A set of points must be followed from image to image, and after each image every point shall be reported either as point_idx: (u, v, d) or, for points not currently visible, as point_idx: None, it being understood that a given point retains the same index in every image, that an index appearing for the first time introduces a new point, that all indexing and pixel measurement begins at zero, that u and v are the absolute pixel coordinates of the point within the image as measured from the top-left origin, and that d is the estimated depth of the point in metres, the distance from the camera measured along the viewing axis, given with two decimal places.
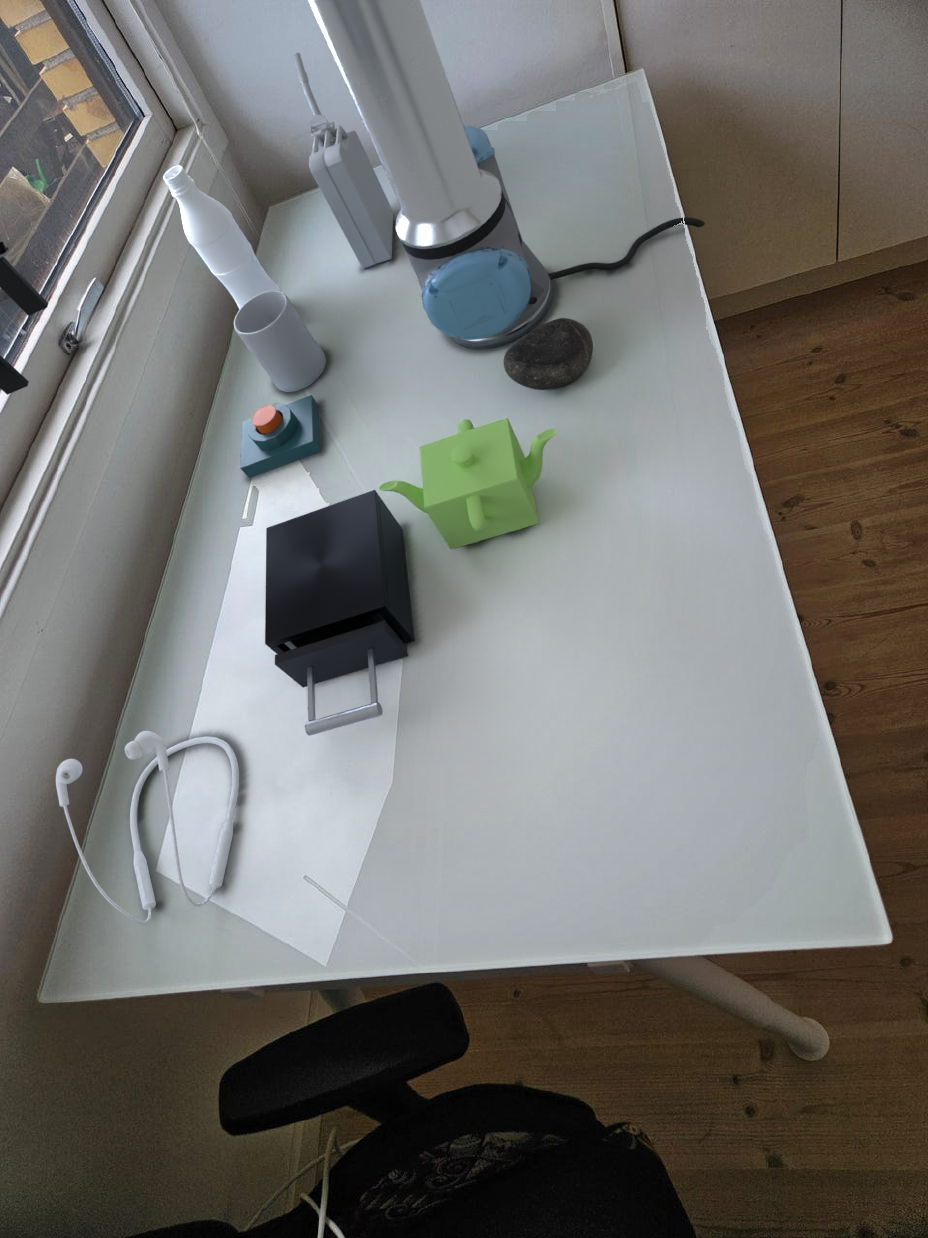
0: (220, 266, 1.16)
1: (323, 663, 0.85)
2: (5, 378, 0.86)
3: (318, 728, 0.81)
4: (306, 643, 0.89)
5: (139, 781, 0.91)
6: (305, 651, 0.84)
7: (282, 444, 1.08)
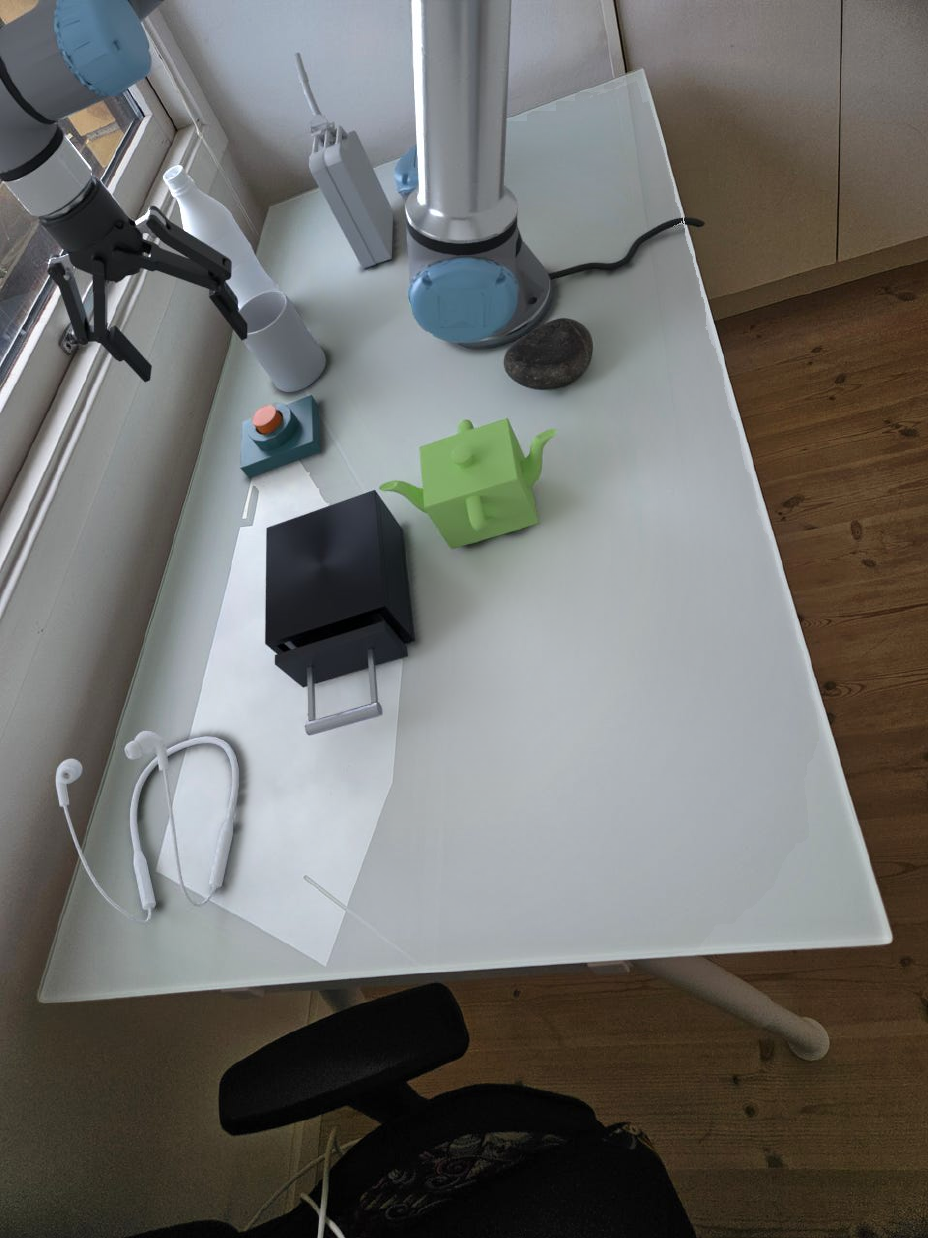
0: None
1: (323, 663, 0.85)
2: None
3: (318, 728, 0.81)
4: (306, 643, 0.89)
5: (139, 781, 0.91)
6: (305, 651, 0.84)
7: (282, 444, 1.08)
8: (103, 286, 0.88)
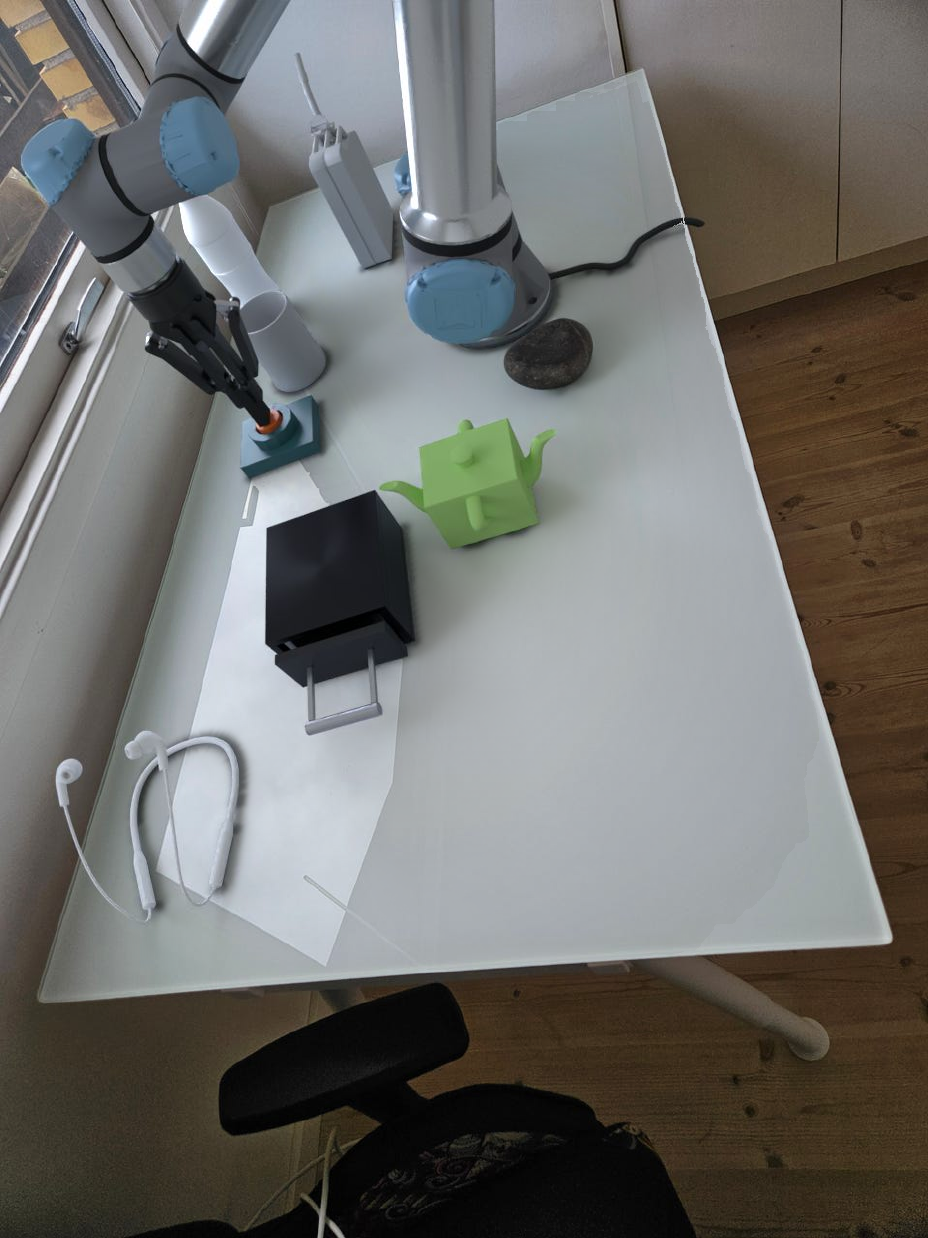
0: (220, 266, 1.16)
1: (323, 663, 0.85)
2: None
3: (318, 728, 0.81)
4: (306, 643, 0.89)
5: (139, 781, 0.91)
6: (305, 651, 0.84)
7: (282, 444, 1.08)
8: (193, 346, 0.96)
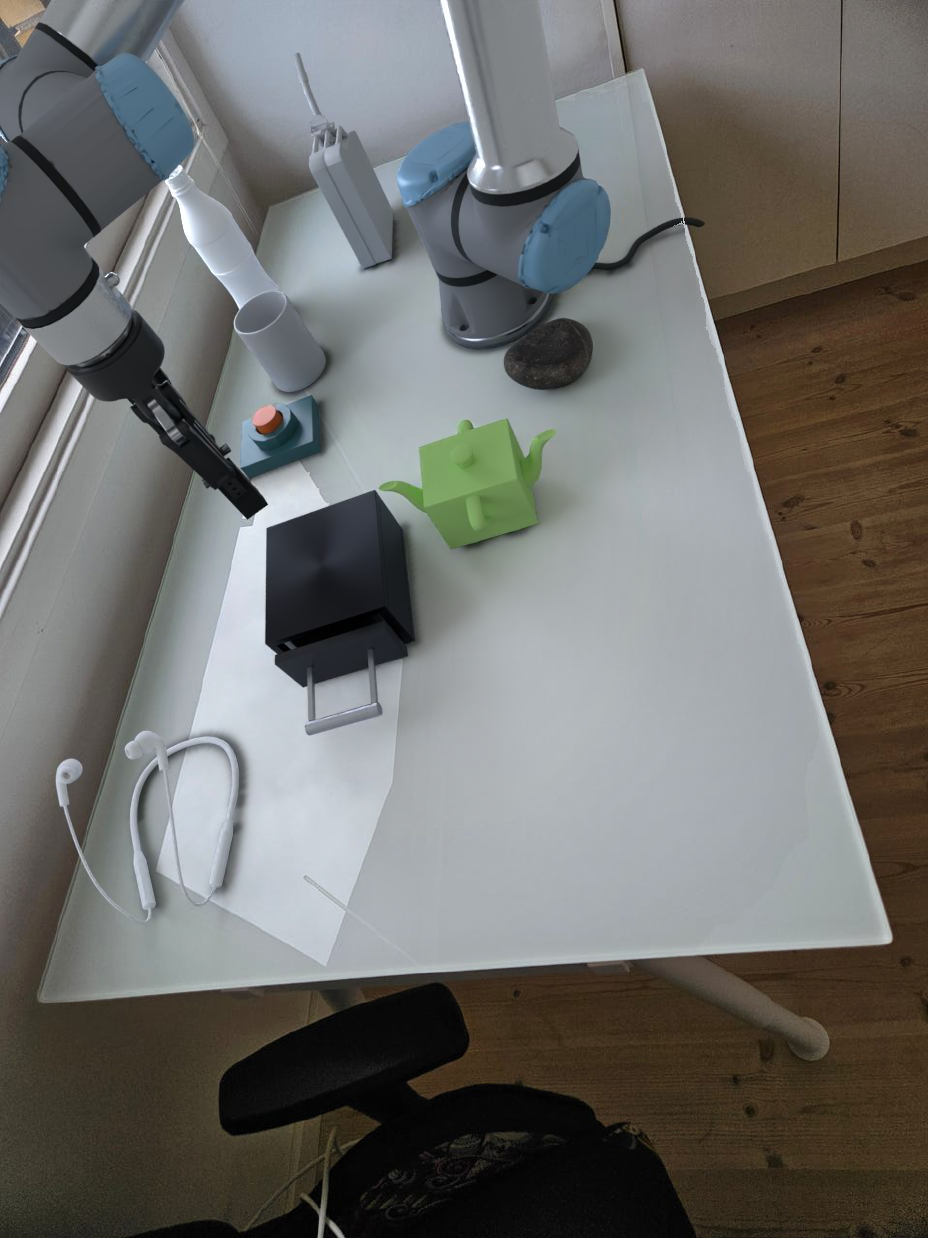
0: (220, 266, 1.16)
1: (323, 663, 0.85)
2: None
3: (318, 728, 0.81)
4: (306, 643, 0.89)
5: (139, 781, 0.91)
6: (305, 651, 0.84)
7: (282, 444, 1.08)
8: None
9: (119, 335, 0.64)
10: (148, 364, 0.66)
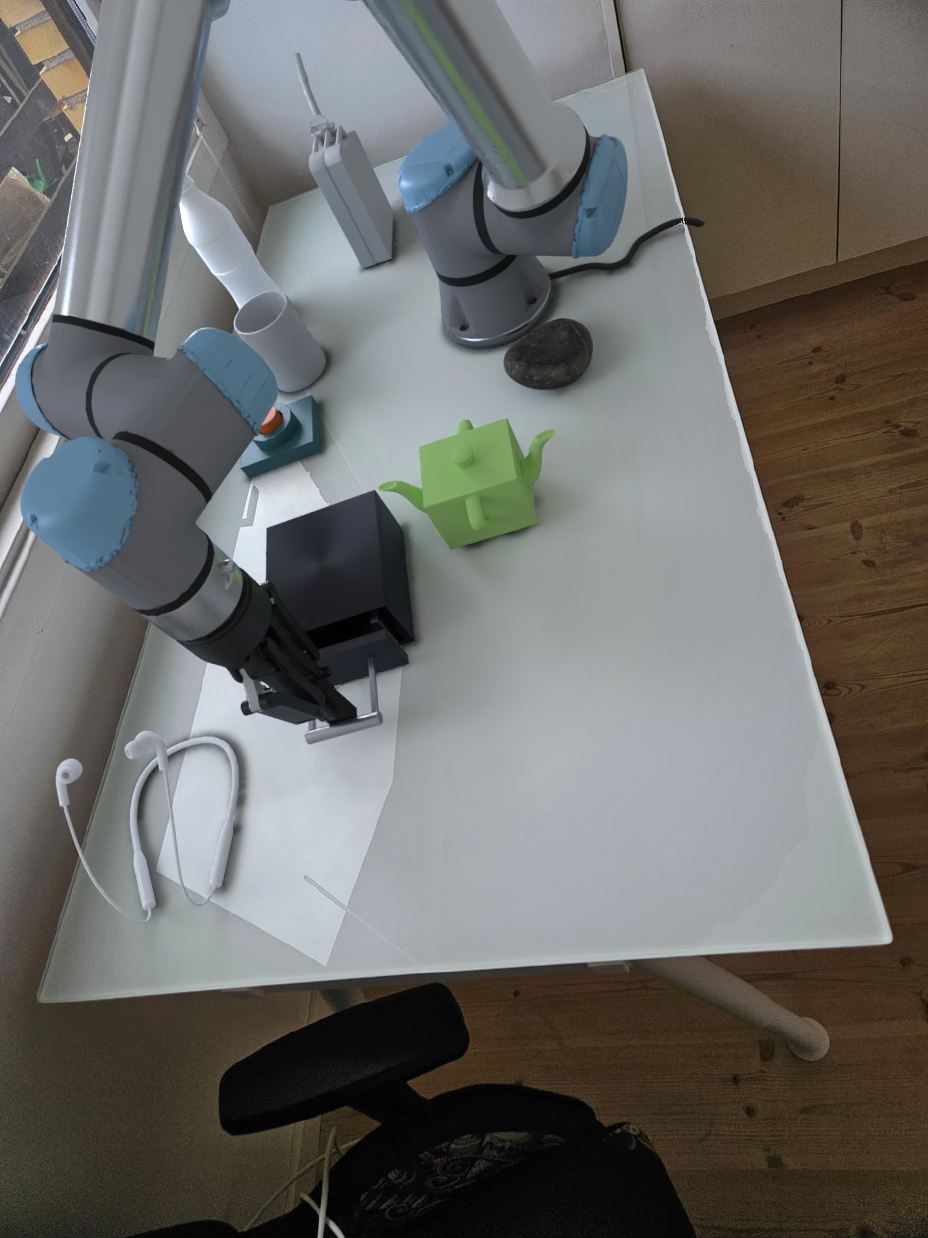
0: (220, 266, 1.16)
1: None
2: None
3: (318, 737, 0.80)
4: None
5: (139, 781, 0.91)
6: None
7: (282, 444, 1.08)
8: None
9: (218, 626, 0.60)
10: (245, 645, 0.63)
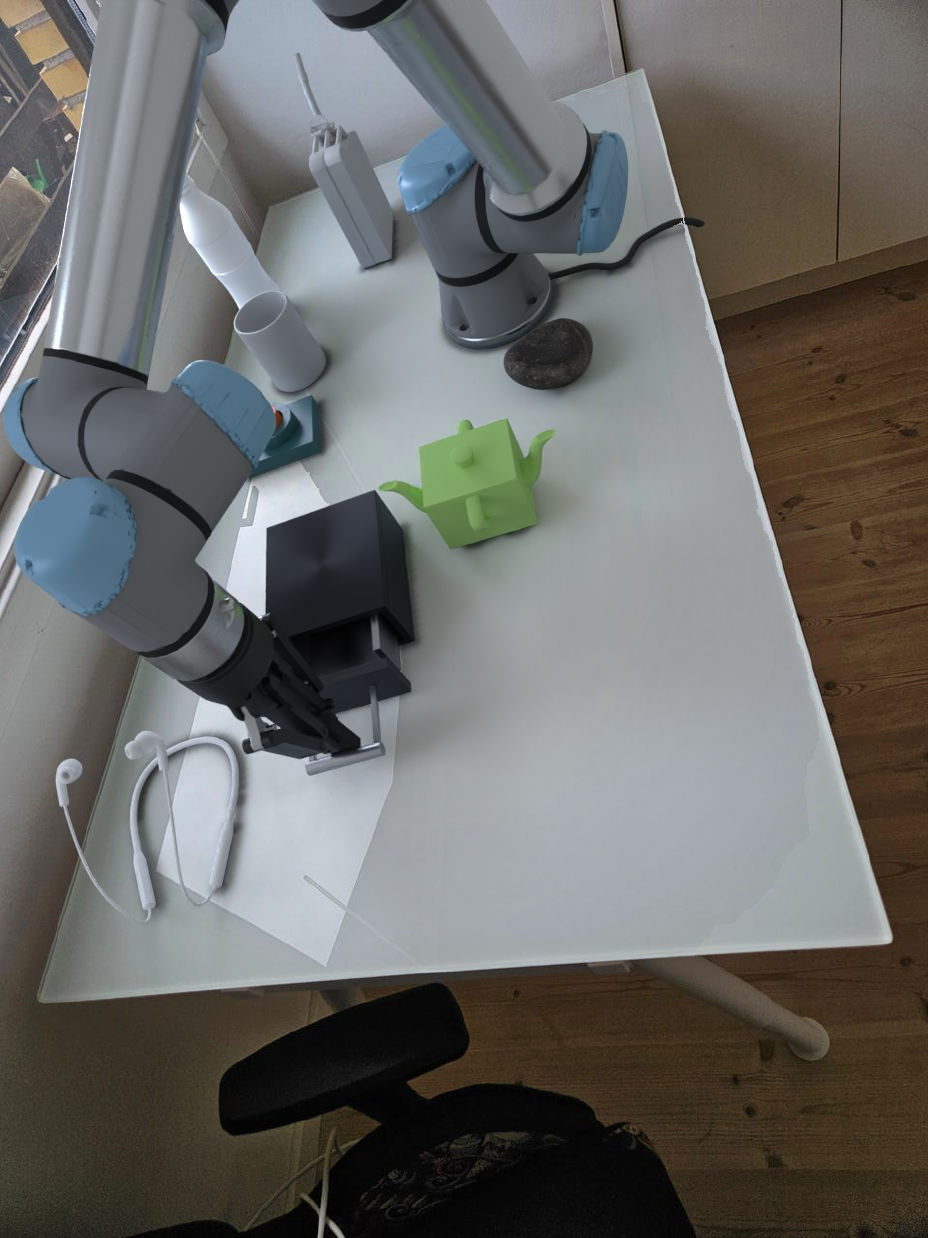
0: (220, 266, 1.16)
1: None
2: None
3: (319, 768, 0.79)
4: None
5: (139, 781, 0.91)
6: None
7: (282, 444, 1.08)
8: None
9: (219, 666, 0.58)
10: (246, 683, 0.61)
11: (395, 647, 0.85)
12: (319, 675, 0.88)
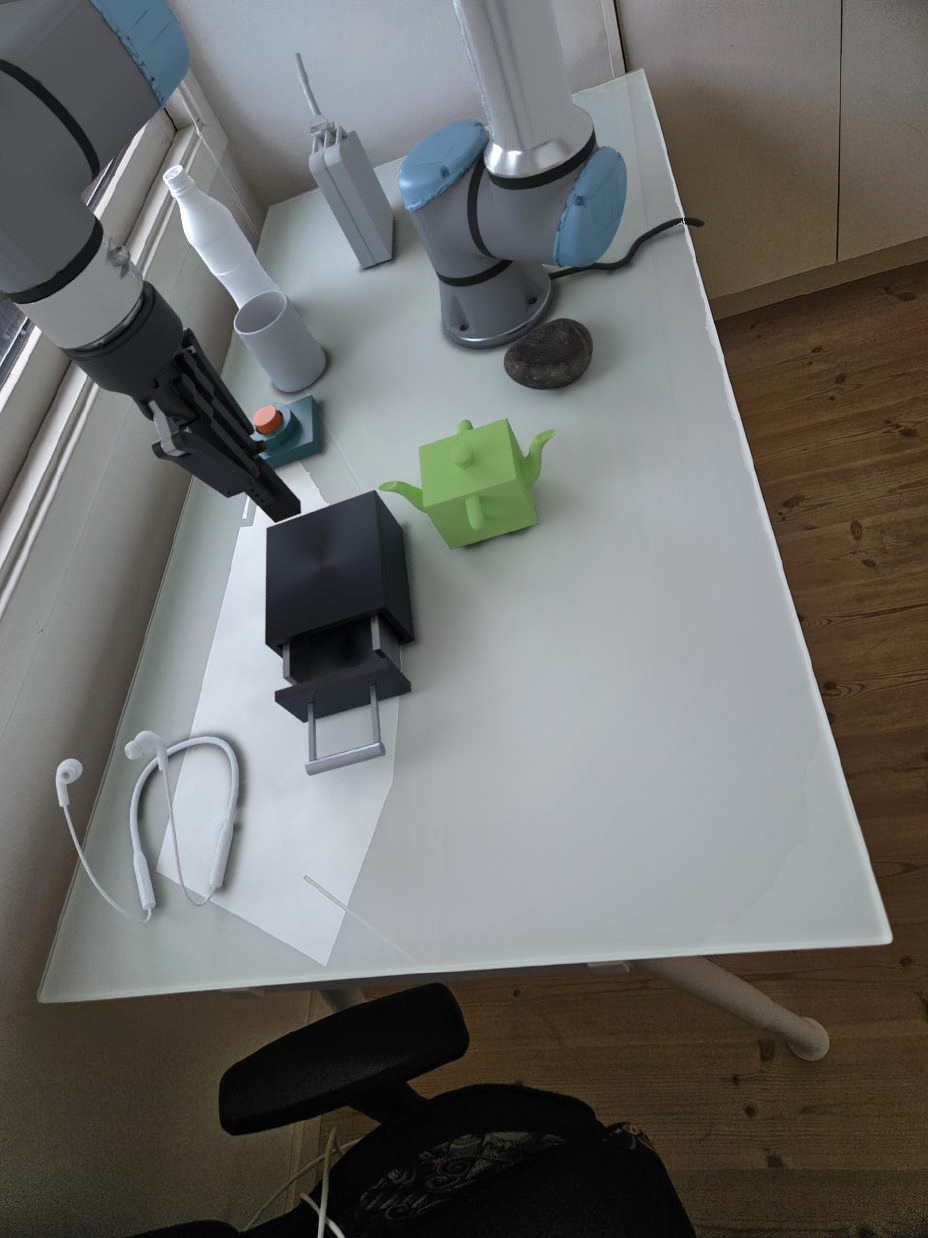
0: (220, 266, 1.16)
1: (325, 699, 0.83)
2: None
3: (319, 768, 0.79)
4: (307, 677, 0.87)
5: (139, 781, 0.91)
6: (306, 688, 0.81)
7: (282, 444, 1.08)
8: None
9: (113, 326, 0.52)
10: (150, 362, 0.55)
11: (395, 647, 0.85)
12: (319, 675, 0.88)
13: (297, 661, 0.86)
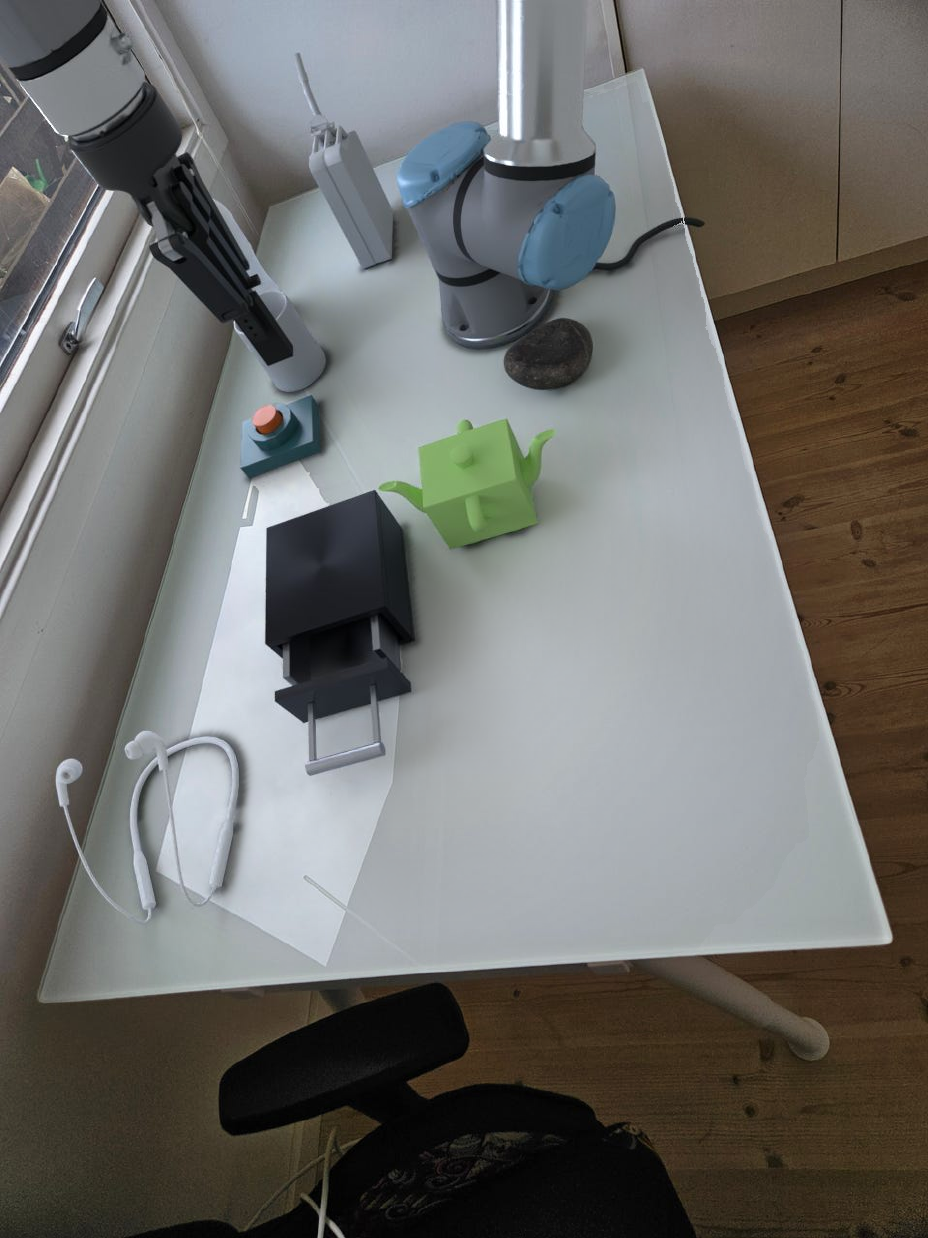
0: None
1: (325, 699, 0.83)
2: None
3: (319, 768, 0.79)
4: (307, 677, 0.87)
5: (139, 781, 0.91)
6: (306, 688, 0.81)
7: (282, 444, 1.08)
8: None
9: (115, 112, 0.55)
10: (149, 156, 0.57)
11: (395, 647, 0.85)
12: (319, 675, 0.88)
13: (297, 661, 0.86)
